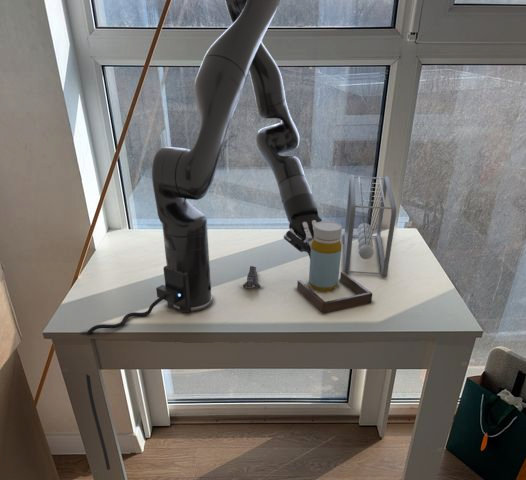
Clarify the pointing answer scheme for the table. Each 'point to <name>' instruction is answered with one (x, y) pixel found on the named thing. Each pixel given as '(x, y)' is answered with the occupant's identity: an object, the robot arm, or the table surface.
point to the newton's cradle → (368, 226)
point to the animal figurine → (252, 279)
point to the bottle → (325, 256)
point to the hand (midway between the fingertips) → (319, 265)
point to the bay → (338, 304)
